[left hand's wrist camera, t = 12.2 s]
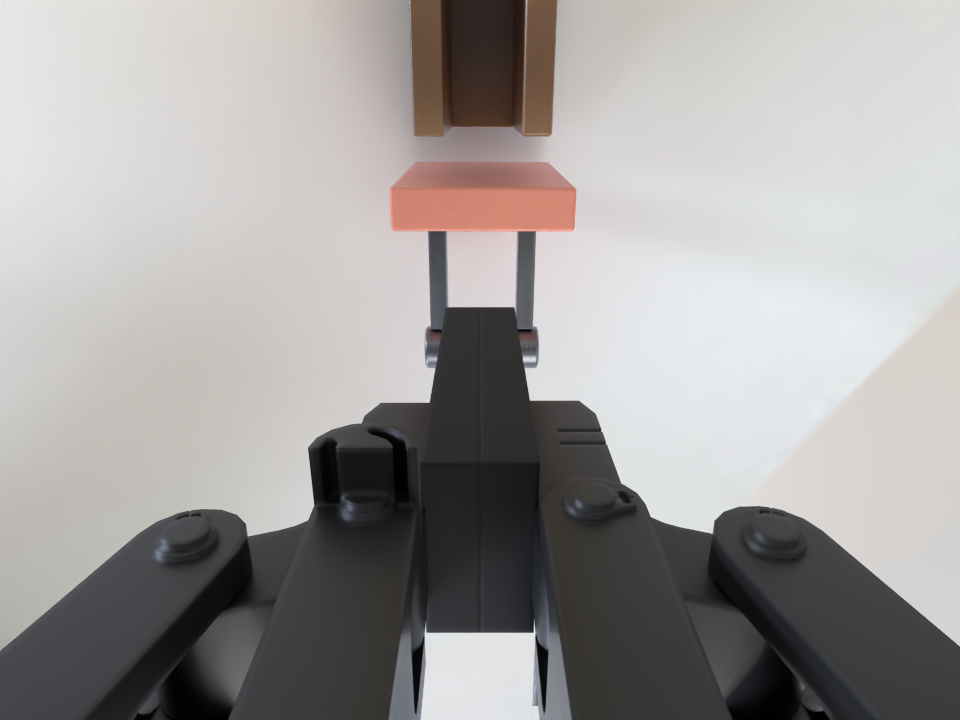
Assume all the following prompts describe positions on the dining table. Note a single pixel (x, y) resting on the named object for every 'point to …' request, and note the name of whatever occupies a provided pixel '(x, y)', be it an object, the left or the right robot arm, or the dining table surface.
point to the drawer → (482, 103)
